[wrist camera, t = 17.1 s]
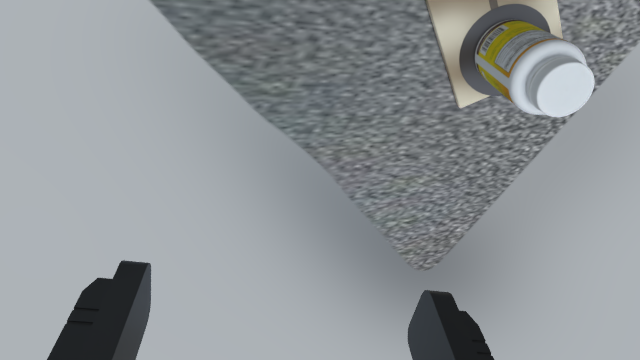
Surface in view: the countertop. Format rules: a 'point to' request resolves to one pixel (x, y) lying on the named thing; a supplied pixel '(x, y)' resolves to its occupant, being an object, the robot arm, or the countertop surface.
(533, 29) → the supplement bottle
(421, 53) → the countertop surface
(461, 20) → the peg stand
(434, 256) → the countertop surface
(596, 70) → the countertop surface
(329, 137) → the countertop surface
